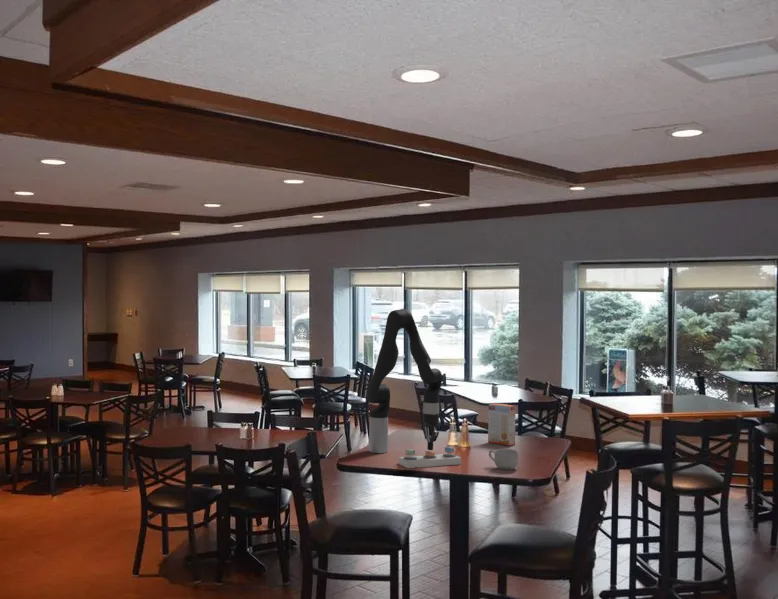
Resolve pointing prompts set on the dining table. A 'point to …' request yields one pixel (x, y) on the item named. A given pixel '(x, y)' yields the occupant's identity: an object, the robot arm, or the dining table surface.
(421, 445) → the dining table surface
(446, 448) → the slate button
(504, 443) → the cracker box
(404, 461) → the button panel
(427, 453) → the terracotta button
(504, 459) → the teacup
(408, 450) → the sage button
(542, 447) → the dining table surface
